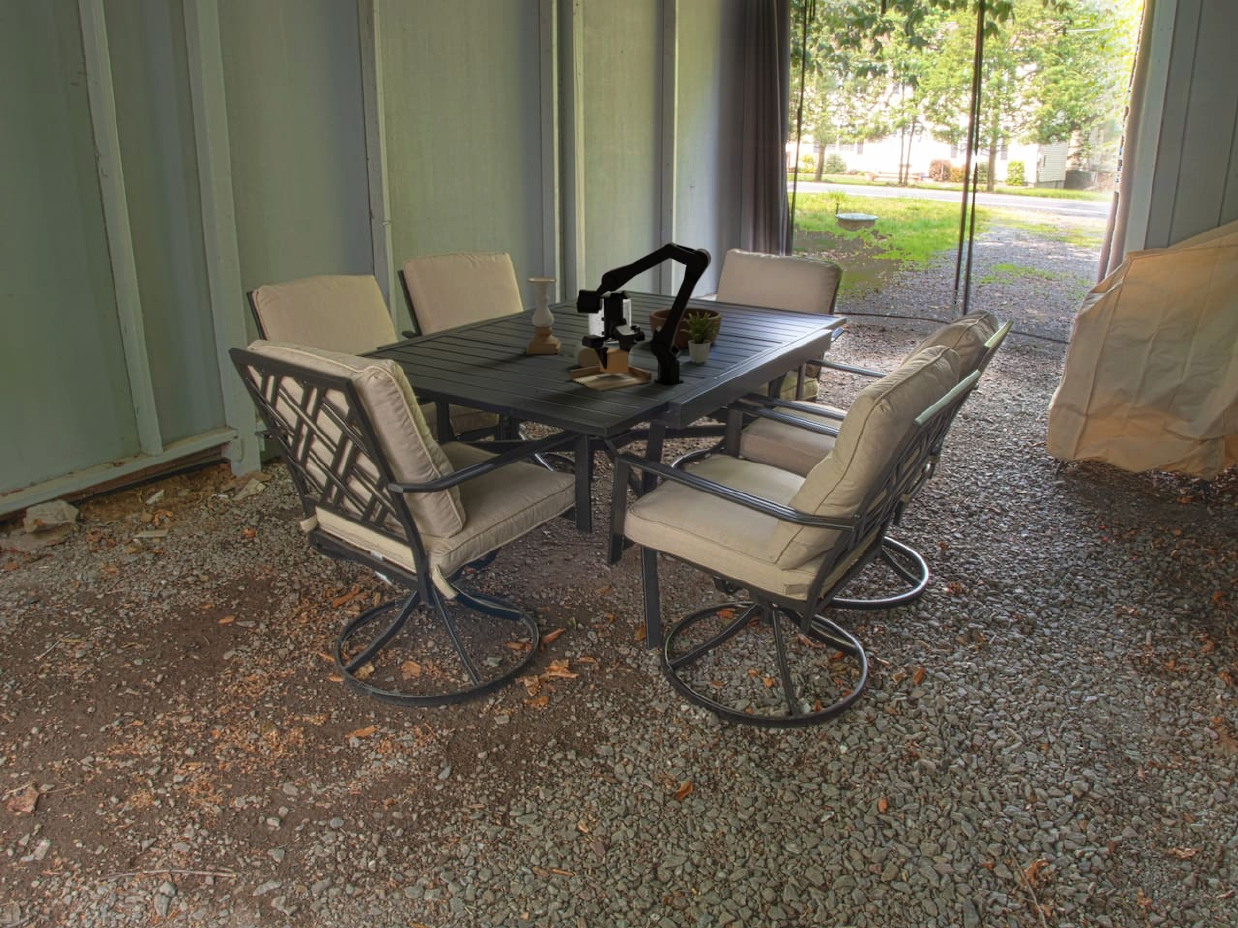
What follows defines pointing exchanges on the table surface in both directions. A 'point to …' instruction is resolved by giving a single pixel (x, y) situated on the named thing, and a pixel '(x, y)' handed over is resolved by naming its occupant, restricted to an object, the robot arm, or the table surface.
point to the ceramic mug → (586, 356)
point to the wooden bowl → (686, 324)
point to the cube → (616, 362)
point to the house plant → (699, 337)
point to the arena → (610, 377)
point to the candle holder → (543, 320)
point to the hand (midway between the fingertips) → (614, 367)
